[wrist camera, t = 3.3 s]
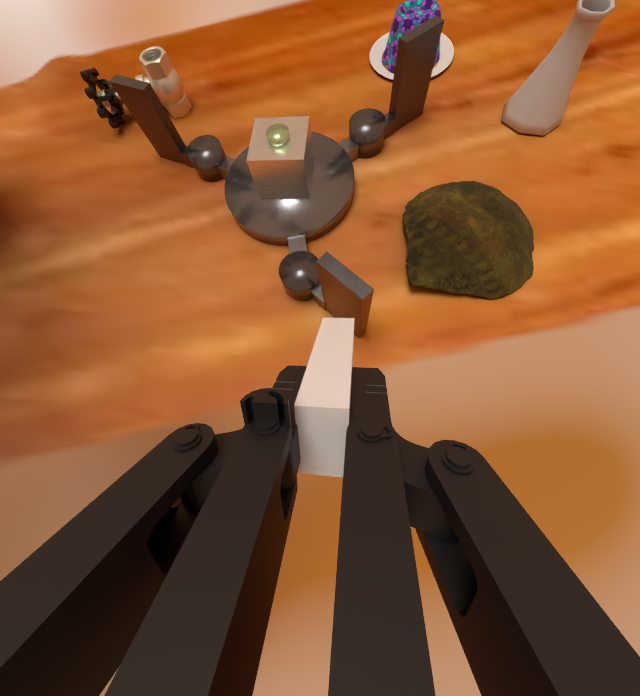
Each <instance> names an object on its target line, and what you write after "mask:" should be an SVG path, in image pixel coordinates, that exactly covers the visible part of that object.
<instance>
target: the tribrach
mask: <svg viewBox="0 0 640 696" xmlns="http://www.w3.org/2000/svg"><path fill="white" fill-rule="evenodd" d="M443 24H444V20H443V19H442V18H440V17H438V16H437V15H436V16H434V17H433V18H431V19H429V20H427V21H426V22H424V23H422V24H421V25H419V26H417V27H416V28H414V29H412V30H411V31H409V32H407V33H406V34H404V35H402V36H401V37H399V40H398V48H397V55H396V63H395V71H394V78H393V86H392V93H391V101H390V109H389V113H388V114H386V115H384V114H383V113H382V112H380V111H378V110H376V109H362V110H359V111H357V112H356V113H354V114H353V115H352V117H351V118H350V121H349V137H348V138H346V139H345V140H343V141H341V142H340V143H337V142H335V141H334V140H333V139H331V138H329V137H327V136H325V135H322V134H319V133H315V132H311V125H310V117H309V116H300V117H274V118H255V121H254V126H253V131H252V136H251V141H250V146H249V147H248V148H247V149H245V150H244V151H243V152H242V153H241V154H240V155H239V156H238V157H237V159H233V158H229V157H226V155H225V153H224V151H223V148H222V146H221V144H220V142H219V140H218V139H217V138H216V137H214V136H211V135H204V136H200V137H197V138H196V139H194V140H193V141H192V142H191V143H190V144H189V146H185V144H184V142H183V141H182V139H181V137H180V135H179V134H178V132H177V130H176V128H175V127H174V125H173V123H172V121H171V120H170V118H169V116H168V114H167V113H166V111H165V109H164V107H163V106H162V104H161V102H160V100H159V98H158V97H157V95H156V93H155V91H154V90H153V88H152V86H151V84H150V83H148V82H144V81H140V80H136V79H132V78H128V77H124V76H120V75H114V76H113V78H112V79H111V80H110V81H109V82H110V84H111V85H112V87H113V88H114V89H115V91H116V92H117V94H118V95H119V97H120V98H121V100H122V101H123V103H124V104H125V106H126V107H127V109H128V110H129V111H130V113H131V114H132V116H133V117H134V119H135V120H136V122H137V123H138V125H139V126H140V128H141V129H142V130H143V132H144V133H145V135H146V136H147V138H148V139H149V141H150V142H151V144H152V145H153V147H154V148H155V149H156V151H157V152H158V154H159V155H160V157H163V158H167V159H170V160H173V161H176V162H180V163H183V164H186V165H187V166H190V167H194V168H195V169H196V171H197V172H198V174H199V176H200V177H201V178H202V179H203V180H205V181H208V182H214V181H218V180H220V179H222V178H224V179H226V181H225V198H226V201H227V204H228V207H229V209H230V210H231V212H232V214H233V216H234V218H235V220H236V222H237V223H238V225H239V226H240V227H241V228H242V230H244V231H245V232H246V233H247V234H248V235H250V236H251V237H253V238H255V239H257V240H259V241H261V242H264V243H267V244H272V245H281V246H289V254H290V253H293V252H296V251H307V252H308V250H307V243H306V242H310V241H312V240H315V239H317V238H319V237H321V236H323V235H325V234H326V233H328V232H329V231H331V230H332V229H333V228H334V227H335V226H337V225H338V224H339V223H340V221H341V220H342V219H343V218H344V216H345V215H346V213H347V212H348V210H349V208H350V206H351V202H352V199H353V193H354V169H353V164H352V161H353V160H355V159H356V158H358V157H359V158H370V157H373V156H375V155H377V154H378V153H379V152H380V151H381V149H382V146H383V139H385V138H387V137H388V136H390V135H391V134H393V133H394V132H395V131H396V130H398V129H399V128H401V127H402V126H404V125H406V124H407V123H409V122H410V121H412V120H413V119H415V118H417V117H418V116H420V115H421V114H422V112H423V108H424V104H425V99H426V95H427V91H428V87H429V83H430V78H431V74H432V70H433V66H434V61H435V57H436V53H437V49H438V45H439V40H440V36H441V32H442V28H443Z"/></svg>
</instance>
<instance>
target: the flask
mask: <svg viewBox="0 0 640 696" xmlns="http://www.w3.org/2000/svg"><path fill="white" fill-rule="evenodd" d="M614 7H615V0H578V2H577V4H576V11H575V14H574V16H573V18H572V19H571V21H570V23H569V25H568V27H567V28H566V30H565V31H564V33H563V34H562V36H561V37H560V39H559V40H558V41H557V43H556V44H555V46H554V47H553V49H552V50H551V51H550V53H549V54H548V55H547V56H546V57H545V58H544V60H543V61H542V62H541V63H540V64H539V66H538V67H537V68H536V69H535V70H534V71H533V73H532V74H531V75H530V76H529V77H528V79H527V80H526V81H525V82H524V83H523V84H522V85H521V86H520V88H519V89H518V90H517V91H516V92H515V93H514V94H513V95H512V97H511V98H510V99H509V100H508V101H507V102H506V104H505V105H504V109H503V115H502V122H504V123H505V124H507V125H508V126H510V127H511V128H513V129H514V130H516V131H517V132H519V133H525V134H534V135H546V134H547V133H548V132H550V131H551V130H553V129H554V128H555V127H557V126H558V125H559V124H561V121H562V118H563V115H564V112H565V109H566V106H567V102H568V99H569V96H570V93H571V90H572V87H573V84H574V81H575V78H576V75H577V72H578V69H579V67H580V64H581V61H582V58H583V56H584V54H585V52H586V50H587V48H588V46H589V44H590V41H591V39H592V37H593V35H594V34H595V32H596V30H597V29H598V27H599V25H600V24H601V22H602V21H603V19H604V18H605V17H606V16H608V15H609V14H610V13H611V12H612V11H613V9H614Z"/></svg>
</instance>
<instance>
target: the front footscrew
mask: <svg viewBox="0 0 640 696" xmlns="http://www.w3.org/2000/svg"><path fill="white" fill-rule="evenodd" d="M279 275H280V278H281V280H282V282H283V285H284V287H285V289H286V291H287V293H288V295H289V296H290V297H292V298H293V299H296V300H299V301H306V300H310V299H313V300H314V301H316V302H317V303H318V304H319V305H320V306H321V307H322V308H324V309H325V310H327V311H328V312H329V313H331V314H332V315H333V316H334V317H335V318H354V335H356V336H357V337H358V338H359V337H360V336H361V335H362V334H363V333H364V332H365V331H366V328H367V322H368V317H369V312H370V306H371V301H372V296H373V291H374V289H373V288H372V287H370V286H369V285H368V284H367V283H365V282H364V281H363V280H362V279H360V278H359V277H358V276H357V275H355V274H354V273H353V272H352V271H350V270H349V269H348V268H347V267H345V266H344V265H343V264H342V263H340V262H339V261H338V260H337V259H335V258H334V257H333V256H332V255H330V254H329V253H328V252H326V253H325V254H324V255H323V256H322V257H321V258H320V259H318V258H317V257H316V256H315V255H313V254H312V253H310V252H307V251H296V252H293V253H290V254H289V255H287V256H286V257H285V258H284V259H283V260H282V262H281V264H280V267H279Z"/></svg>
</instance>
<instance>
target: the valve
mask: <svg viewBox="0 0 640 696" xmlns="http://www.w3.org/2000/svg"><path fill="white" fill-rule="evenodd" d="M138 60H139V61H140V63H141V65H142V67H143V68H144V70H145V72H146V74H147V75H148V76H149V77H146V76H145V75H138V76H136V77H135V79H136V80H140V81H144V82H148V83H150V84H151V86H152V88H153V90H154V91H155V93H156V95H157V97H158V98H159V99H160V100H162V102H163V104H164V106H165V107H166V109H167V111H168V112H169V114H170V115H171V116H172V117H173V118H179V117H183V116H186V115H187V114H188V113H189V111H190V109H191V108H192V105H191V103H190V101H189V99H188V97H187V95H186V94H185V93H184V87H183V83H182V80H181V78H180V76H179V75H178V73H177V72H176V71H175V69H174V68H173V66H172V64H171V62H170V59H169V57H168V55H167V53H166V52H165V51H164V50H163V49H162V48H161V47H159V46H153V47H149V48H147V49H145V50H144V51H143V52H142V53H141V54H140V56H139V59H138ZM80 74H81V76H82V78H83V80H84V81H85V82H87V84H88V86H89V87H87V88H85V89H84V90H85V93H86V95H87V96H88V97H89V98H90V99H93V100H94V101H95V103H96V104H97V106H98V108H97V113H98V115H99V116H100V117H101V118H108V119H109V120H108V121H109V124H110V126H111V127H112V128H114V129H115V128H119V127H120V125H121V124H125V121H124V118H123V117H119V116H122V115H123V113H124V109H123V106H122V105H123V101H122V100H121V98H120V97H119V95H118V94H117V92H116V91H115V89H114V88H113V87H112V85H111V84H110V82H108V81H107V80H105V79H101V80H98V79H97V76H98V75H99V73H98V71H97V70H96V69H95V68H90V69H87V70H83V71H80ZM96 85H97V86H98V87H99V88H100V89H101V91H102V92H98V94H97V91H96ZM109 106H110V107H111V113H110V112H109V111H108V110H107V109H106V108H105V107H109ZM117 110H118V111H117Z"/></svg>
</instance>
